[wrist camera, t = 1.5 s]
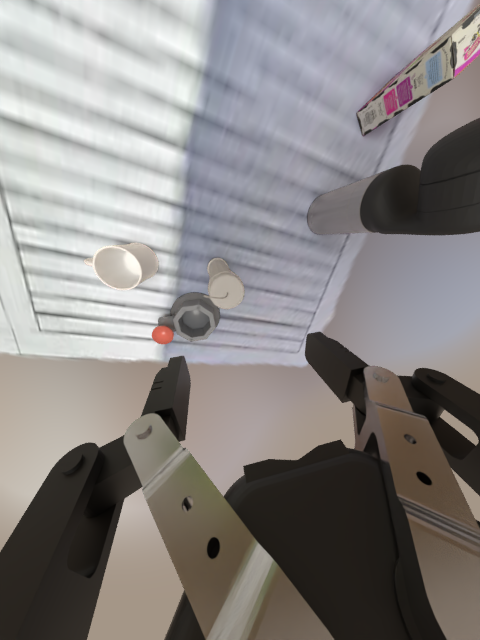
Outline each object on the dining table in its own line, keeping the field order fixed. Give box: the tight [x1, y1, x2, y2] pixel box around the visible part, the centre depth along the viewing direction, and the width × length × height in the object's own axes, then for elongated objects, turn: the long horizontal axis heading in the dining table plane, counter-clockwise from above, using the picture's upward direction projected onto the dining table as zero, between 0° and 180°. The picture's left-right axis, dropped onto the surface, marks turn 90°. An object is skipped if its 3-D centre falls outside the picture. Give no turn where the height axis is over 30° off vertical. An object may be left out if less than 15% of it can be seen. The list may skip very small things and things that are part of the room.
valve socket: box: [152, 292, 220, 344], centre depth 46 cm, size 17×14×10 cm
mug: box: [84, 243, 159, 290], centre depth 36 cm, size 12×8×12 cm
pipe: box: [204, 258, 245, 309], centre depth 33 cm, size 6×6×30 cm
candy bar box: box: [357, 4, 480, 136], centre depth 30 cm, size 11×5×16 cm, turn 130°
